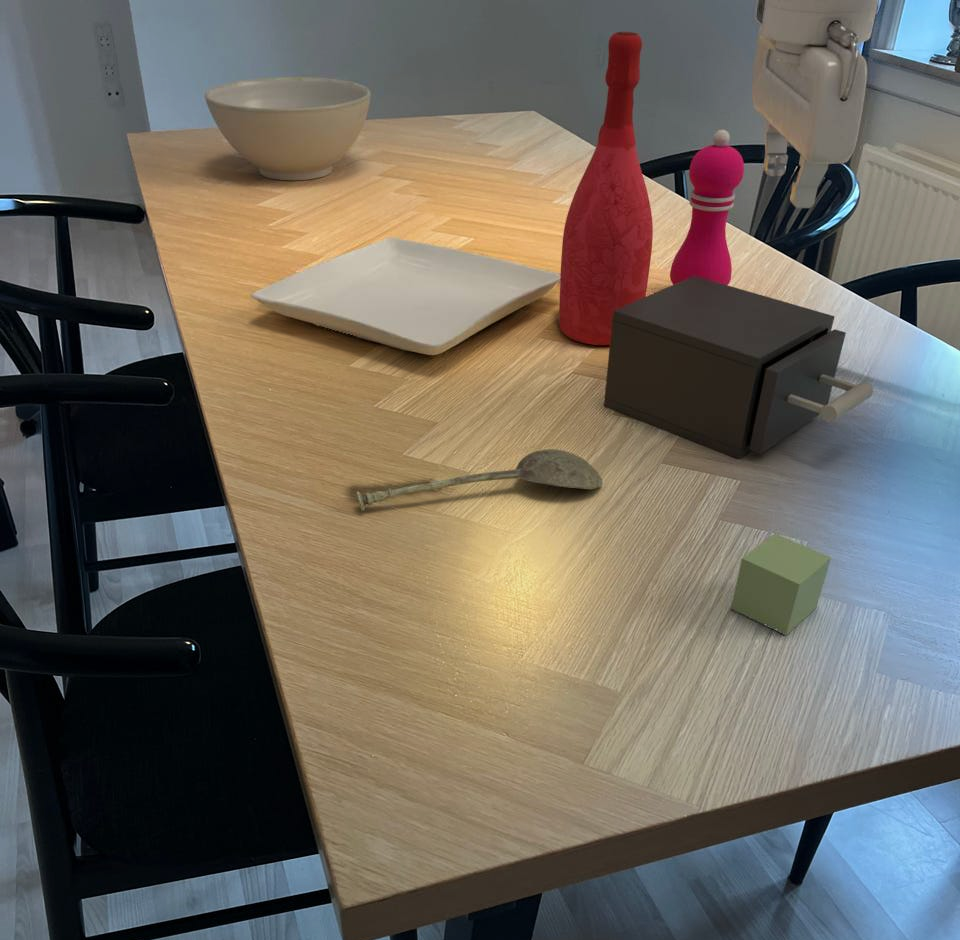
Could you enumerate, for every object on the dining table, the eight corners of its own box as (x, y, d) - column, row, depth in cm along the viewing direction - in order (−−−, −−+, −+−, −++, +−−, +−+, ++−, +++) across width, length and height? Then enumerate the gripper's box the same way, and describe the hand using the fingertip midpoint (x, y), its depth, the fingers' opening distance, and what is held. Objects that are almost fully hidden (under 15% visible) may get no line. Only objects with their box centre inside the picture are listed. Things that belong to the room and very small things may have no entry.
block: (816, 608, 73) (831, 557, 70) (785, 635, 70) (799, 584, 68) (762, 583, 75) (774, 532, 73) (730, 609, 73) (741, 558, 70)
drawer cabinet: (811, 411, 99) (835, 316, 92) (738, 459, 91) (759, 358, 84) (680, 365, 107) (694, 275, 101) (603, 406, 99) (612, 310, 93)
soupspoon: (612, 503, 86) (586, 470, 91) (617, 468, 84) (590, 436, 89) (364, 528, 80) (351, 492, 85) (362, 491, 78) (349, 456, 84)
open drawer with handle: (873, 426, 94) (897, 347, 89) (809, 473, 87) (830, 390, 82) (701, 366, 104) (713, 293, 99) (631, 404, 97) (640, 326, 92)
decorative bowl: (376, 152, 179) (372, 76, 171) (373, 192, 158) (368, 108, 150) (228, 152, 177) (217, 76, 170) (205, 193, 157) (192, 109, 149)
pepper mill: (731, 305, 121) (762, 126, 108) (716, 325, 116) (748, 140, 103) (674, 296, 123) (699, 120, 111) (658, 315, 118) (681, 132, 106)
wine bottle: (619, 356, 109) (652, 43, 90) (541, 337, 112) (557, 33, 94) (655, 328, 115) (693, 30, 96) (580, 311, 119) (603, 21, 100)
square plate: (565, 302, 121) (567, 270, 119) (437, 379, 103) (437, 343, 101) (391, 260, 133) (390, 230, 130) (249, 322, 115) (245, 289, 112)
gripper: (902, 35, 73) (857, 226, 82) (821, -7, 88) (791, 158, 97) (818, 36, 73) (782, 227, 82) (752, -6, 88) (728, 159, 97)
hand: (786, 189), depth 90 cm, fingers open, 8 cm apart
